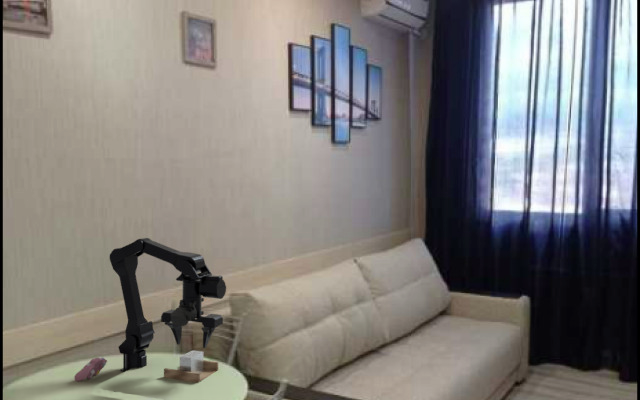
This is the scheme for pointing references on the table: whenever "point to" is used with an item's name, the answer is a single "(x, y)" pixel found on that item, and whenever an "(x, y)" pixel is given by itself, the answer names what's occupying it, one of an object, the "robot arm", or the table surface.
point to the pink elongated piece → (91, 369)
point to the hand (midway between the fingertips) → (191, 346)
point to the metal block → (192, 361)
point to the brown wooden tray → (208, 370)
